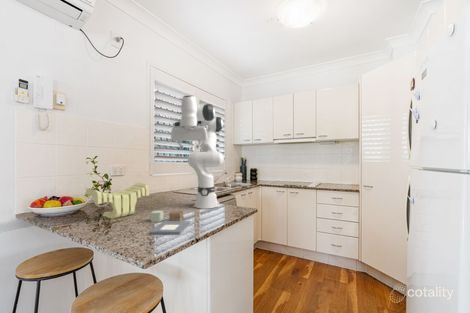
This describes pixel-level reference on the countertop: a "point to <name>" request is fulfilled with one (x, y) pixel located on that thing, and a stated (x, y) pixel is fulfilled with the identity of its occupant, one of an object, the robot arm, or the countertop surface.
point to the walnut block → (176, 215)
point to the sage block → (157, 216)
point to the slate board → (170, 227)
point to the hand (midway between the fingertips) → (189, 148)
